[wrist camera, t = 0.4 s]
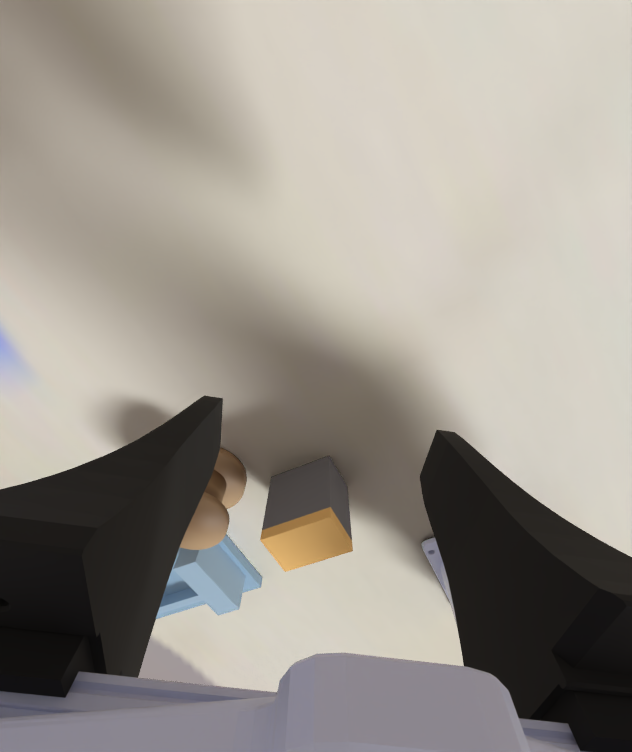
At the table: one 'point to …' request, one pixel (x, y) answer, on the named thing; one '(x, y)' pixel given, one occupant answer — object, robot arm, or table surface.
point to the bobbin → (216, 503)
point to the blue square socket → (209, 579)
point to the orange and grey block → (307, 515)
